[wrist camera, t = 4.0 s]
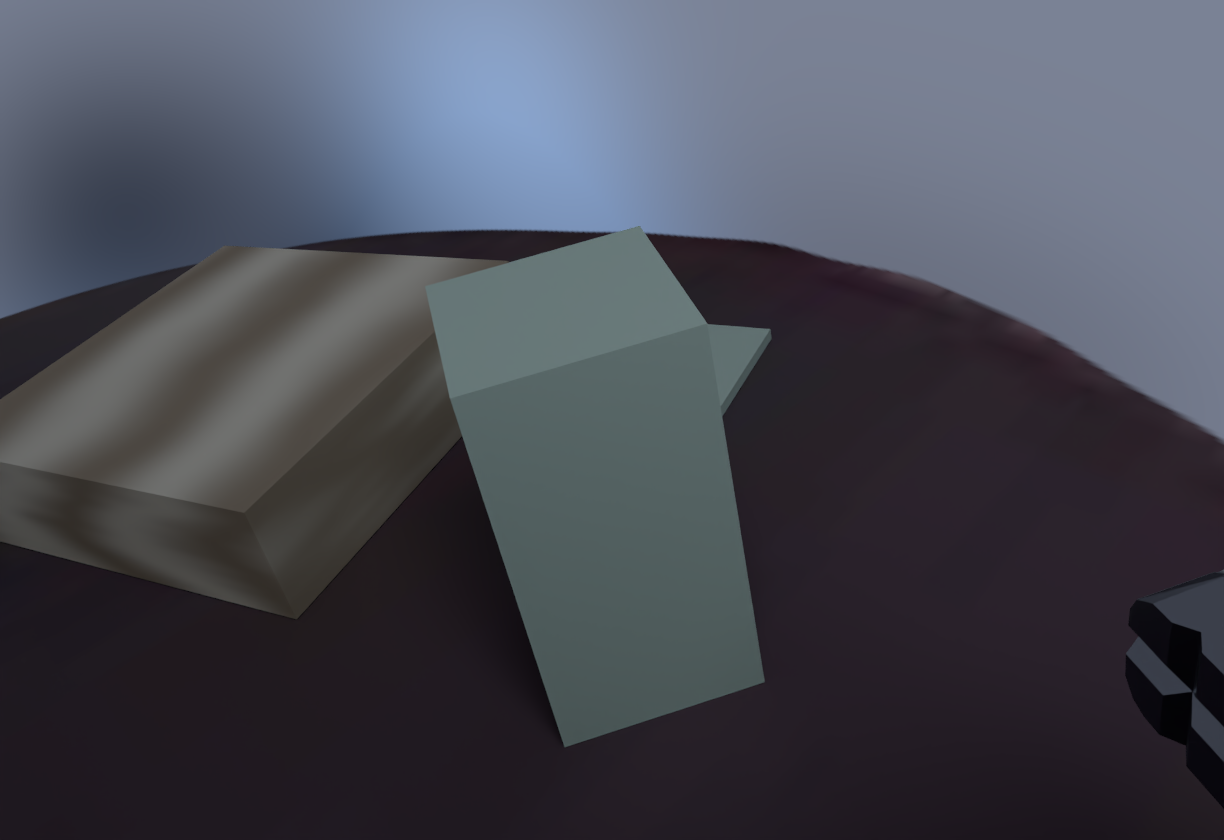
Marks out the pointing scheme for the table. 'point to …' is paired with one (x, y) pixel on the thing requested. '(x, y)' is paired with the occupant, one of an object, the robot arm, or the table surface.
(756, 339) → the tile
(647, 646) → the sage block
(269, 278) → the birch base block
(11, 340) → the table surface
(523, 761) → the table surface
